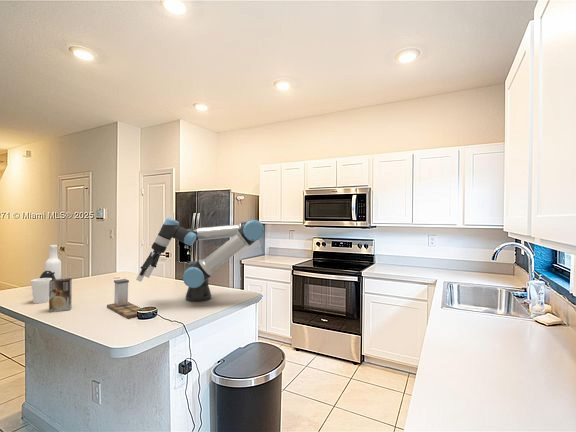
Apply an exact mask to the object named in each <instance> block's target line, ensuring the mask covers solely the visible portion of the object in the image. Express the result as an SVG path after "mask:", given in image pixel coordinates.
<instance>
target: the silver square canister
mask: <svg viewBox="0 0 576 432" xmlns="http://www.w3.org/2000/svg"><path fill="white" fill-rule="evenodd" d="M113 283H114V302H113V304H114V305H116V306H122V305H127V304H128V302H129V283H130V280H129V279H127V278H121V279H115V280H114V281H113Z"/></svg>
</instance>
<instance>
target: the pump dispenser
mask: <svg viewBox="0 0 576 432" xmlns="http://www.w3.org/2000/svg"><path fill="white" fill-rule="evenodd" d="M54 274H55V272H53V273H52V272H51V271H45V270H44V271H43V272H42V273H41V275H40V276H39V278H52V279H56V278H55V276H54Z"/></svg>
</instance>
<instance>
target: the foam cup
mask: <svg viewBox="0 0 576 432" xmlns="http://www.w3.org/2000/svg"><path fill="white" fill-rule="evenodd" d="M50 280H52V278H40V277H39V278H34V279H31V280H30V285H31V291H32V297H33V299H32V300H33V303H34V304H35V305H36V304H37V305H38V304H39V305H40V304H46V303H49V282H50Z"/></svg>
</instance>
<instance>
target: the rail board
mask: <svg viewBox="0 0 576 432" xmlns="http://www.w3.org/2000/svg"><path fill="white" fill-rule="evenodd" d="M106 308H107V309H109V310H111V311H112V312H114V313H117V314H118V315H120V316H121V317H123V318H125V319H126V320H130V319H134V318H138V317H137V312H138V310H140V309H143V308H142V307H140V306H138V305H136V304H133V303H131V302H129V301H128V304H127V305H122V306H116V305H114V303H108V304H106Z"/></svg>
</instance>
